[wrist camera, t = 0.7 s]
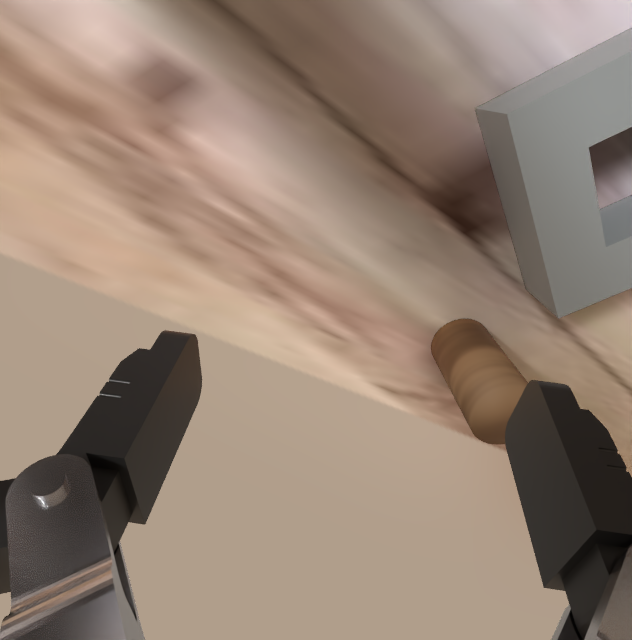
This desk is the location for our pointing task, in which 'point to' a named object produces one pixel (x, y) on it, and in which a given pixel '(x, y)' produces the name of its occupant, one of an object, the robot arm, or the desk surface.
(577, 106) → the socket block
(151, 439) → the robot arm
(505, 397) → the peg
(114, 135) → the desk surface
